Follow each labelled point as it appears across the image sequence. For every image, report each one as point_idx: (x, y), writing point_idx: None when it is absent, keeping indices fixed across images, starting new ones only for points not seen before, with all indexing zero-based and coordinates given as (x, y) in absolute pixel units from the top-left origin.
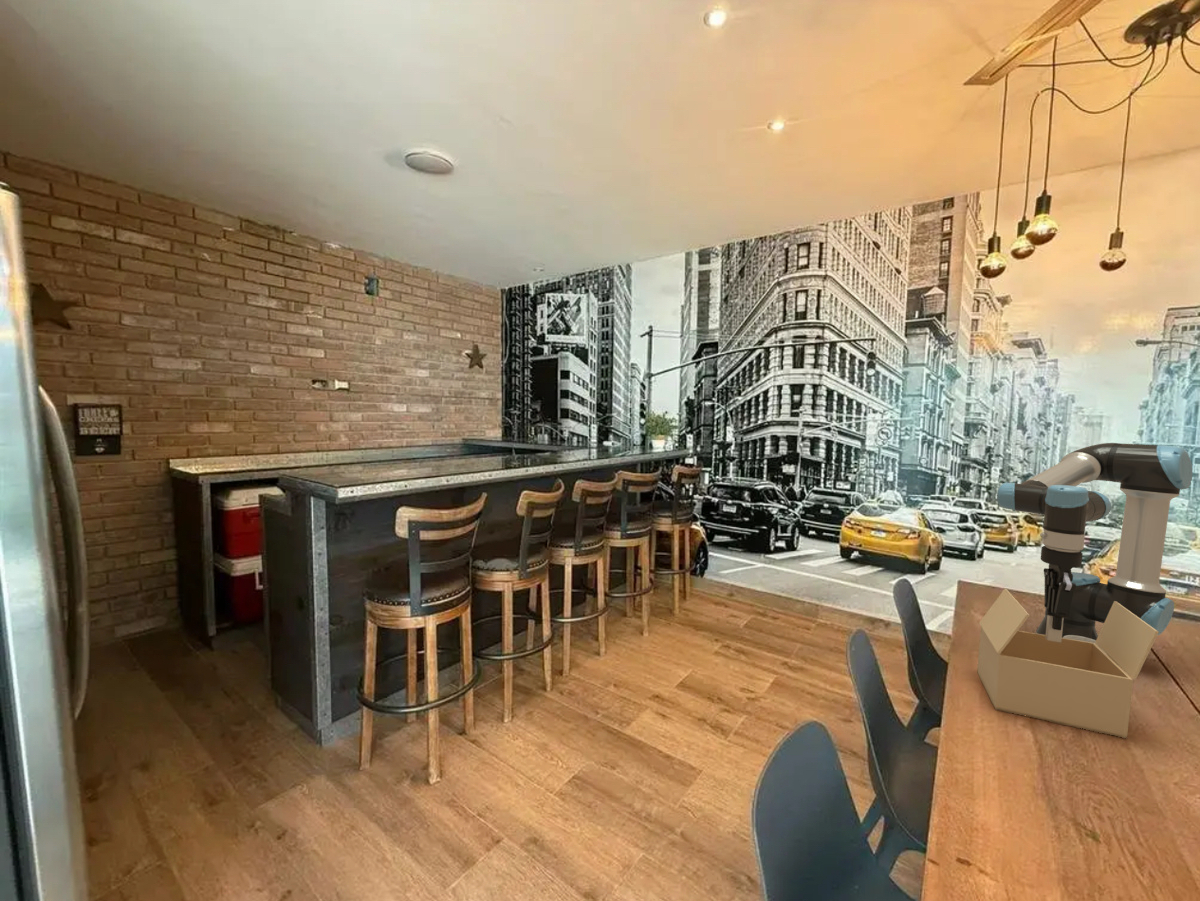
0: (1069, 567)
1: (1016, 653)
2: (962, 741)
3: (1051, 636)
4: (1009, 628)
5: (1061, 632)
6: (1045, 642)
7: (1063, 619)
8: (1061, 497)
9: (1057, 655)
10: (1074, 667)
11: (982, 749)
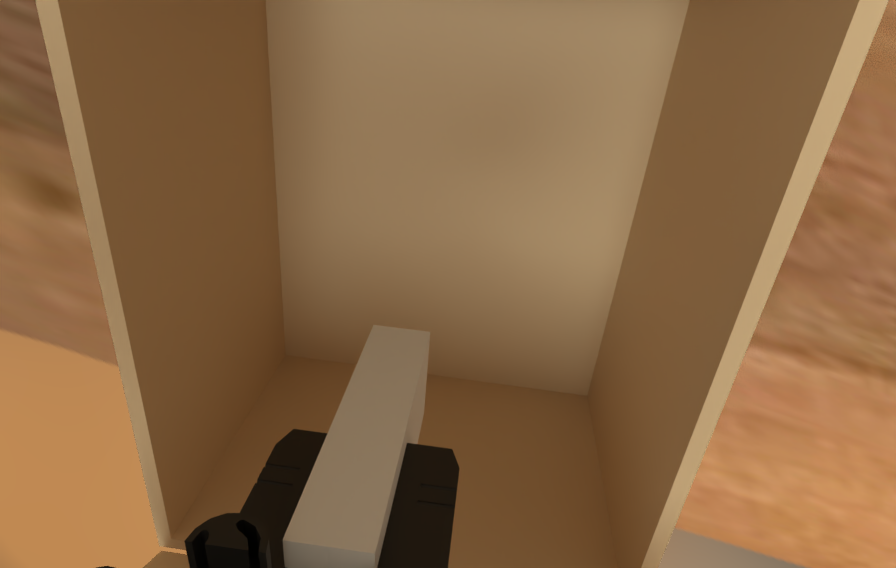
0: None
1: (221, 306)
2: (832, 545)
3: (418, 419)
4: None
5: (412, 398)
6: (144, 222)
7: (383, 524)
8: None
9: (179, 122)
10: (201, 8)
11: (872, 513)
